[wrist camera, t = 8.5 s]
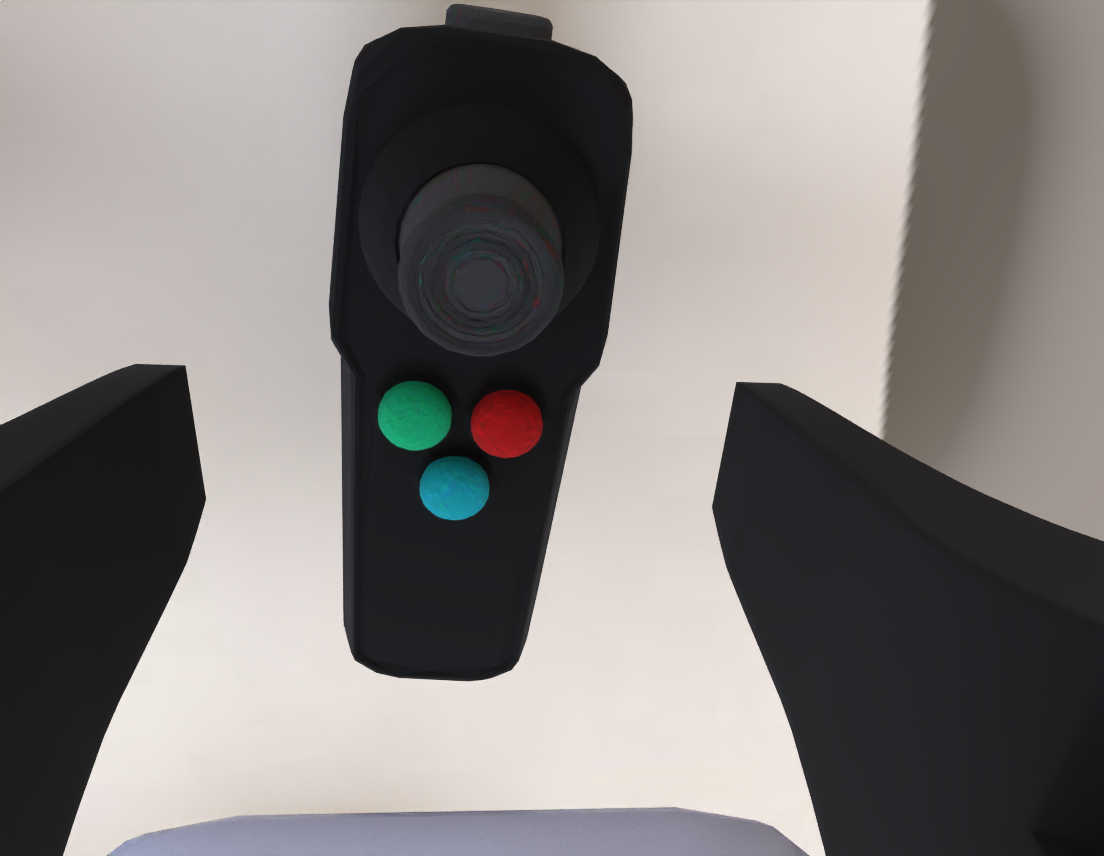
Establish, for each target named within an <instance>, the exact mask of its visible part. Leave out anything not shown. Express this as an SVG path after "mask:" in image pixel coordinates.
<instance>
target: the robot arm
mask: <svg viewBox="0 0 1104 856" xmlns="http://www.w3.org/2000/svg"><path fill="white" fill-rule="evenodd" d="M205 501H206V496H205V490H204V483H203V477H202V470H201V464H200V457H199V451H198V444H197V438H196V431H195V425H194V418H193V412H192V405H191V399H190V392H189V386H188V379H187V373H186V366H185V365H151V364H134V365H131V366H128V367H125V368H122V369H119V370H116V371H114V372H112V373H109V374H107V375H105V376H102V377H100V378H98V379H96V380H94V381H91V382H89V383H87V384H85V385H83V386H81V387H79V388H77V389H75V390H73V391H70V392H68V393H66V394H64V395H62V396H60V397H58V398H56V399H54V400H52V401H50V402H48V403H46V404H44V405H41V406H39V407H37V408H35V409H33V410H31V411H29V412H27V413H25V414H23V415H21V416H19V417H17V418H15V419H12V420H10V421H8V422H6V423H4V424H2V425H0V856H63V853H64V850H65V847H66V844H67V841H68V838H69V835H70V832H71V829H72V826H73V823H74V820H75V817H76V814H77V811H78V808H79V805H80V802H81V799H82V797H83V794H84V791H85V788H86V785H87V782H88V780H89V777H90V774H91V771H92V768H93V766H94V763H95V760H96V757H97V754H98V752H99V749H100V746H101V743H102V740H103V738H104V735H105V733H106V731H107V728H108V726H109V724H110V721H111V719H112V717H113V714H114V712H115V710H116V707H117V705H118V703H119V701H120V699H121V697H122V695H123V693H124V691H125V689H126V687H127V685H128V683H129V681H130V679H131V677H132V674H133V672H134V670H135V668H136V666H137V664H138V662H139V660H140V658H141V656H142V654H143V652H144V650H145V648H146V646H147V644H148V642H149V640H150V638H151V636H152V634H153V632H154V630H155V628H156V626H157V624H158V622H159V620H160V618H161V616H162V614H163V612H164V609H165V607H166V605H167V603H168V601H169V599H170V597H171V595H172V593H173V591H174V589H175V587H176V584H177V582H178V580H179V578H180V576H181V574H182V572H183V570H184V567H185V565H186V563H187V560H188V557H189V554H190V551H191V548H192V545H193V542H194V539H195V536H196V533H197V529H198V526H199V522H200V519H201V515H202V512H203V508H204V505H205ZM712 509H713V514H714V518H715V523H716V527H717V532H718V536H719V540H720V544H721V548H722V552H723V556H724V560H725V564H726V567H727V570H728V572H729V575H730V578H731V580H732V583H733V585H734V588H735V590H736V593H737V595H738V598H739V600H740V603H741V605H742V607H743V610H744V612H745V615H746V617H747V620H748V622H749V624H750V627H751V629H752V632H753V634H754V637H755V639H756V641H757V644H758V646H759V649H760V651H761V653H762V656H763V658H764V661H765V663H766V665H767V668H768V670H769V673H770V675H771V677H772V680H773V682H774V685H775V687H776V690H777V692H778V694H779V697H780V699H781V702H782V705H783V708H784V710H785V713H786V716H787V719H788V721H789V724H790V727H791V730H792V733H793V737H794V740H795V744H796V747H797V751H798V754H799V758H800V761H801V765H802V768H803V772H804V775H805V779H806V782H807V786H808V789H809V793H810V796H811V800H812V804H813V808H814V811H815V815H816V819H817V823H818V827H819V831H820V835H821V838H822V842H823V846H824V850H825V854H826V856H1104V541H1101V540H1098V539H1095V538H1092V537H1089V536H1087V535H1083V534H1081V533H1078V532H1075V531H1072V530H1069V529H1067V528H1064V527H1062V526H1059V525H1056V524H1054V523H1051V522H1049V521H1046V520H1043V519H1041V518H1038V517H1036V516H1034V515H1031V514H1029V513H1027V512H1024V511H1022V510H1020V509H1017V508H1015V507H1013V506H1011V505H1008V504H1006V503H1004V502H1001V501H999V500H997V499H994V498H992V497H990V496H987V495H985V494H983V493H981V492H979V491H977V490H975V489H972V488H970V487H968V486H966V485H964V484H962V483H960V482H958V481H956V480H954V479H952V478H951V477H948V476H947V475H945V474H943V473H941V472H939V471H937V470H935V469H933V468H931V467H930V466H928V465H926V464H924V463H922V462H920V461H918V460H916V459H915V458H913V457H911V456H909V455H907V454H905V453H904V452H902V451H900V450H898V449H897V448H895V447H893V446H891V445H890V444H888V443H886V442H885V441H883V440H881V439H879V438H878V437H876V436H874V435H873V434H871V433H869V432H868V431H866V430H864V429H862V428H861V427H859V426H857V425H856V424H854V423H852V422H851V421H849V420H847V419H846V418H844V417H842V416H841V415H839V414H837V413H836V412H834V411H832V410H831V409H829V408H827V407H826V406H824V405H822V404H820V403H819V402H817V401H815V400H813V399H812V398H810V397H808V396H806V395H804V394H803V393H801V392H799V391H797V390H795V389H793V388H790V387H788V386H786V385H783V384H780V383H751V382H736V387H735V392H734V397H733V402H732V407H731V412H730V417H729V423H728V428H727V433H726V438H725V443H724V448H723V453H722V459H721V464H720V469H719V474H718V479H717V484H716V489H715V495H714V500H713V505H712ZM107 856H809V855H808V854H807V853H805V852H804V851H803V850H802V849H800V848H799V847H798V846H797V845H795V844H794V843H793V842H792V841H790V840H789V839H788V838H787V837H785V836H784V835H783V834H782V833H780V832H779V831H778V830H777V829H775V828H774V827H773V826H770V825H767V824H764V823H761V822H758V821H755V820H749V819H743V818H737V817H731V816H725V815H719V814H713V813H707V812H701V811H695V810H689V809H683V808H677V807H661V808H609V809H558V810H506V811H454V812H402V813H351V814H299V815H247V816H234V817H229V818H224V819H219V820H214V821H208V822H203V823H198V824H193V825H188V826H183V827H177V828H172V829H167V830H162V831H157V832H151V833H147V834H144V835H141V836H138V837H136V838H133V839H130V840H127V841H126V842H124V843H123V844H122V845H120V846H119V847H118V848H116V849H115V850H114V851H112V852H111V853H110V854H108V855H107Z"/></svg>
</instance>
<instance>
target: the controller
mask: <svg viewBox="0 0 1104 856" xmlns="http://www.w3.org/2000/svg"><path fill="white" fill-rule="evenodd" d="M552 30H553V26H552V24H551V22H550V20H548V19H547V18H542V17H540V16H535V15H530V14H524V13H518V12H512V11H505V10H499V9H493V8H485V7H478V6H471V5H464V4H453V5H451V6H450V7H449V8H448V9H447V12H446V22H445V25H436V26H420V27H405V28H399V29H397V30H395V31H393V32H391V33H389V34H387V35H385V36H383V37H381V38H378V39H376V40H374V41H372V42H370V43H368V44H366V45H364V47H363V48H362V50H361V52H360V53H359V55H358V56H357V58H356V59H355V62H354V66H353V70H352V75H351V80H350V86H349V91H348V96H347V101H346V106H345V111H344V116H343V129H342V142H341V155H340V168H339V181H338V194H337V207H336V220H335V233H334V246H333V259H332V272H331V285H330V297H329V314H330V329H331V340H332V342H333V343H334V345H335V347H336V348H337V350H338V352H339V354H340V355H341V416H342V515H343V613H344V627H345V631H346V635H347V639H348V642H349V646H350V649H351V653H352V655H353V657H354V659H355V661H357V662H359V663H360V664H362V665H364V666H366V667H367V668H369V669H371V670H373V671H374V672H376V673H380V674H384V675H389V676H393V677H398V678H413V679H433V680H453V681H476V680H484V679H489V678H493V677H495V676H498V675H500V674H503V673H505V672H508V671H510V670H512V669H513V667H514V666H515V665H516V663H517V662H518V661H519V658H520V656H521V653H522V650H523V648H524V645H525V642H526V639H527V636H528V631H529V626H530V622H531V617H532V613H533V609H534V604H535V600H536V596H537V591H538V587H539V582H540V577H541V572H542V568H543V563H544V558H545V554H546V549H547V544H548V539H549V535H550V530H551V525H552V521H553V516H554V511H555V507H556V502H557V497H558V492H559V488H560V483H561V478H562V474H563V469H564V464H565V460H566V455H567V450H568V445H569V441H570V436H571V431H572V427H573V422H574V417H575V413H576V408H577V403H578V398H579V394H580V389H581V386H582V385H583V384H584V382H585V381H586V380H587V379H588V378H589V377H590V376H591V374H592V373H593V372H594V371H595V370H596V369H597V368H598V366H599V364H600V360H601V357H602V353H603V350H604V346H605V342H606V339H607V335H608V328H609V321H610V313H611V306H612V298H613V290H614V283H615V275H616V268H617V260H618V253H619V245H620V237H621V230H622V222H623V215H624V207H625V199H626V192H627V184H628V177H629V169H630V162H631V154H632V127H633V110H632V98H631V96H630V93H629V91H628V88H627V85H626V83H625V82H624V81H623V80H622V79H621V78H620V77H619V76H618V75H617V74H616V73H615V72H613V71H612V70H611V69H609V68H608V67H607V66H606V65H605V64H604V63H603V62H602V61H600V60H599V59H598V58H597V57H596V56H593V55H590V54H588V53H585V52H582V51H579V50H577V49H574V48H571V47H569V46H566V45H563V44H561V43H558V42H555V41H552V40H551V39H552Z"/></svg>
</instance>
